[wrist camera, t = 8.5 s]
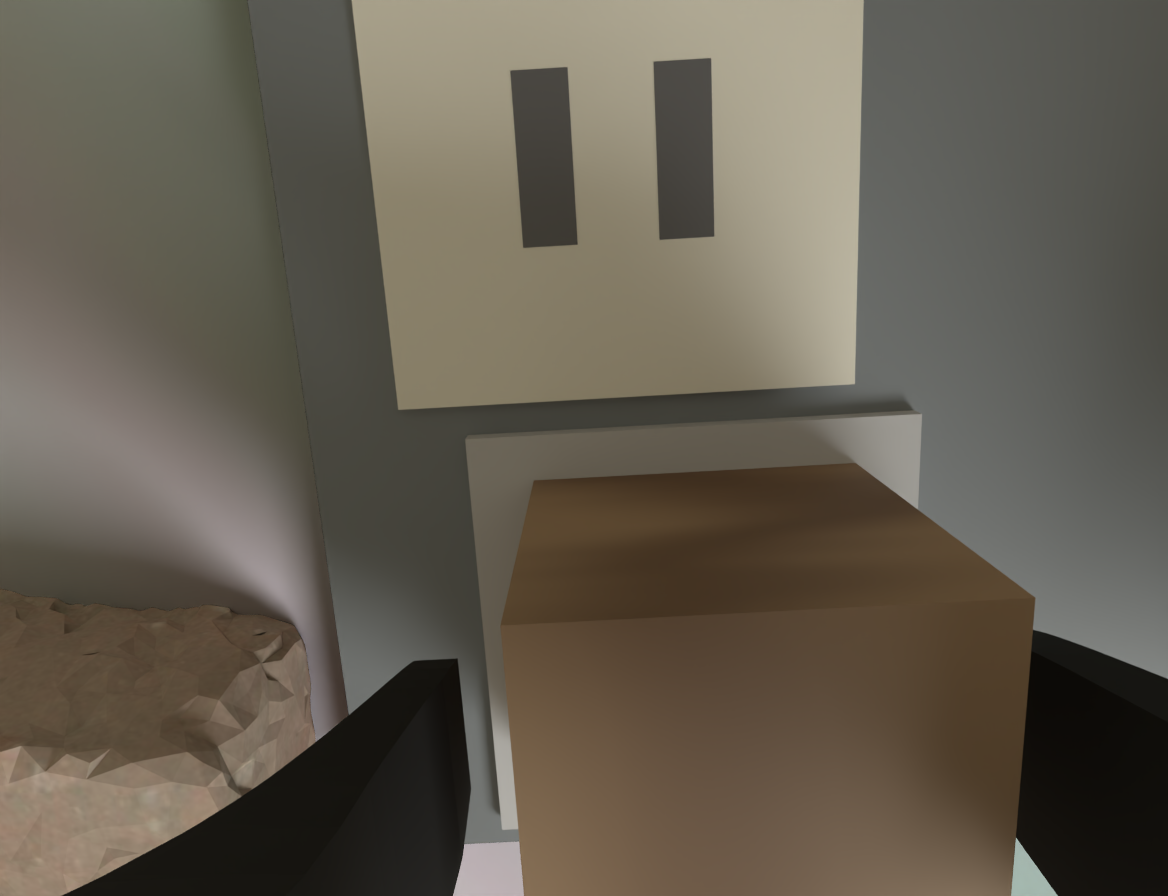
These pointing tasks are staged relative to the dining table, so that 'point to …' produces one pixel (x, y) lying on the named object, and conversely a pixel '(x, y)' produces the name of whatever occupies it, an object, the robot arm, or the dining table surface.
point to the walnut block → (760, 690)
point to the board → (725, 273)
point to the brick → (133, 729)
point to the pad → (522, 457)
